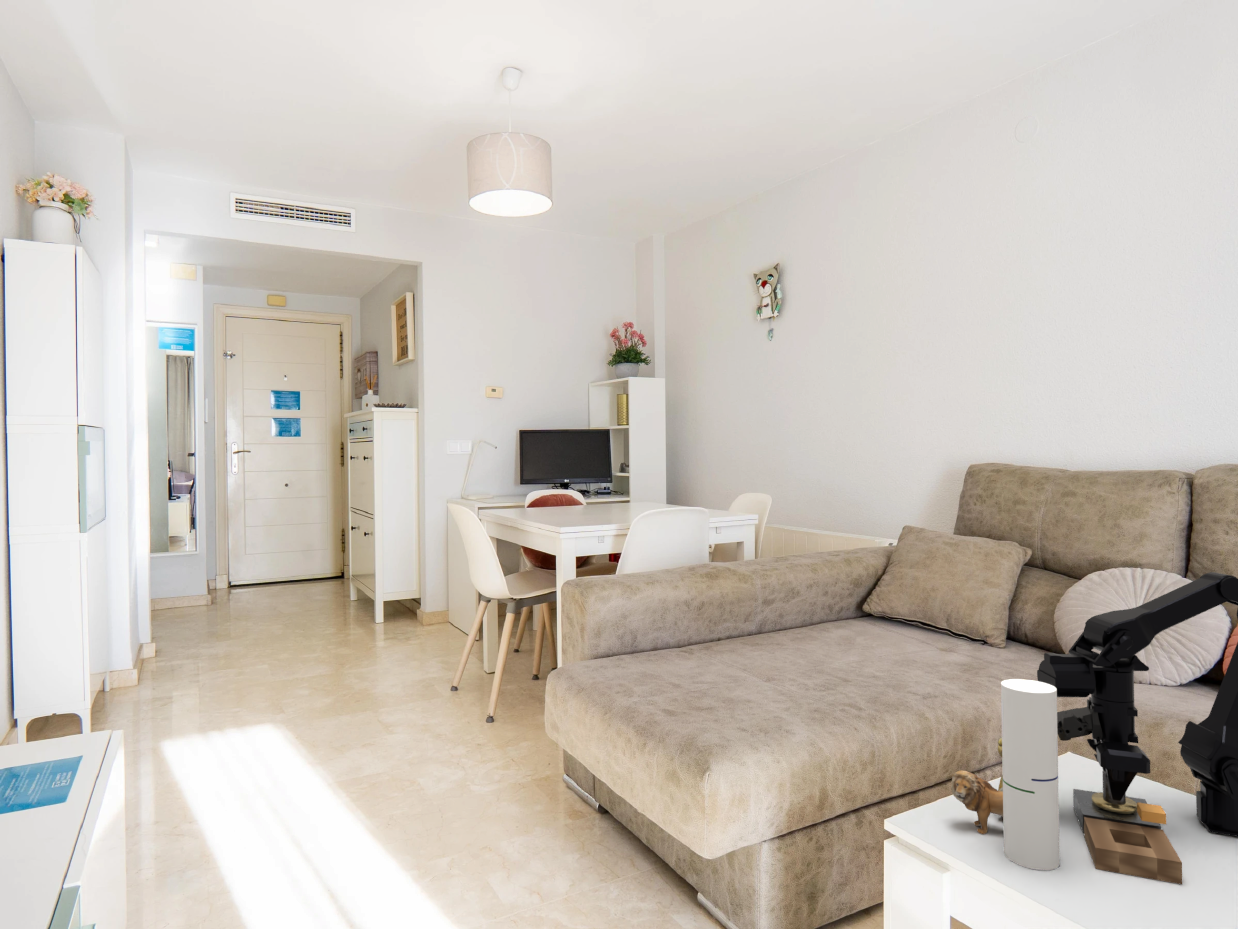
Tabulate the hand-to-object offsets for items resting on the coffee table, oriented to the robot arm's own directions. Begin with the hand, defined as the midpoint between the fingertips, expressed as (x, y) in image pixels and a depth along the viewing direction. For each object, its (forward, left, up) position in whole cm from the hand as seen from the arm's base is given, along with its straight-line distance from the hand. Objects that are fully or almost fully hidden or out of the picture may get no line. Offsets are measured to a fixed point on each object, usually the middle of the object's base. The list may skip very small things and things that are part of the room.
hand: (1114, 795), depth 116 cm
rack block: (0, +11, -5) cm, 12 cm away
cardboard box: (-4, +5, -1) cm, 6 cm away
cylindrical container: (+13, +16, -5) cm, 21 cm away
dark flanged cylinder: (0, 0, -4) cm, 4 cm away
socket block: (0, 0, -5) cm, 5 cm away
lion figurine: (+17, +10, -5) cm, 20 cm away
